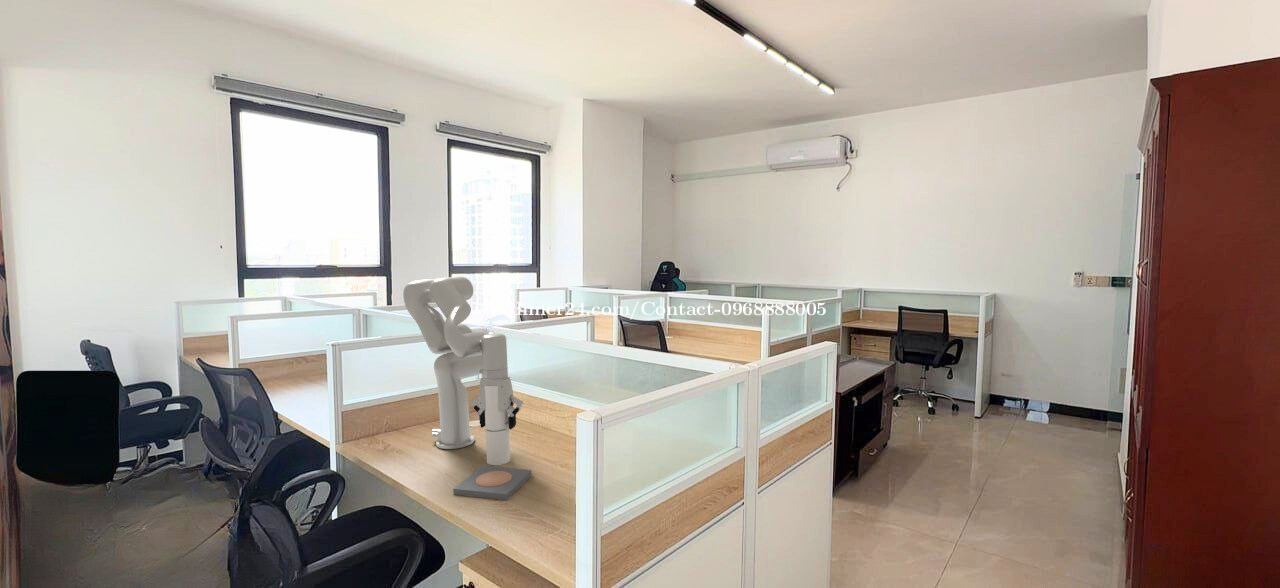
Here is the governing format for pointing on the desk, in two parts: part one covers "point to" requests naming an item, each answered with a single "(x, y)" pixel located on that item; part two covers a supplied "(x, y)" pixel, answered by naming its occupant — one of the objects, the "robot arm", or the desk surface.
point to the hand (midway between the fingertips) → (498, 427)
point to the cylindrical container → (496, 429)
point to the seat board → (493, 482)
